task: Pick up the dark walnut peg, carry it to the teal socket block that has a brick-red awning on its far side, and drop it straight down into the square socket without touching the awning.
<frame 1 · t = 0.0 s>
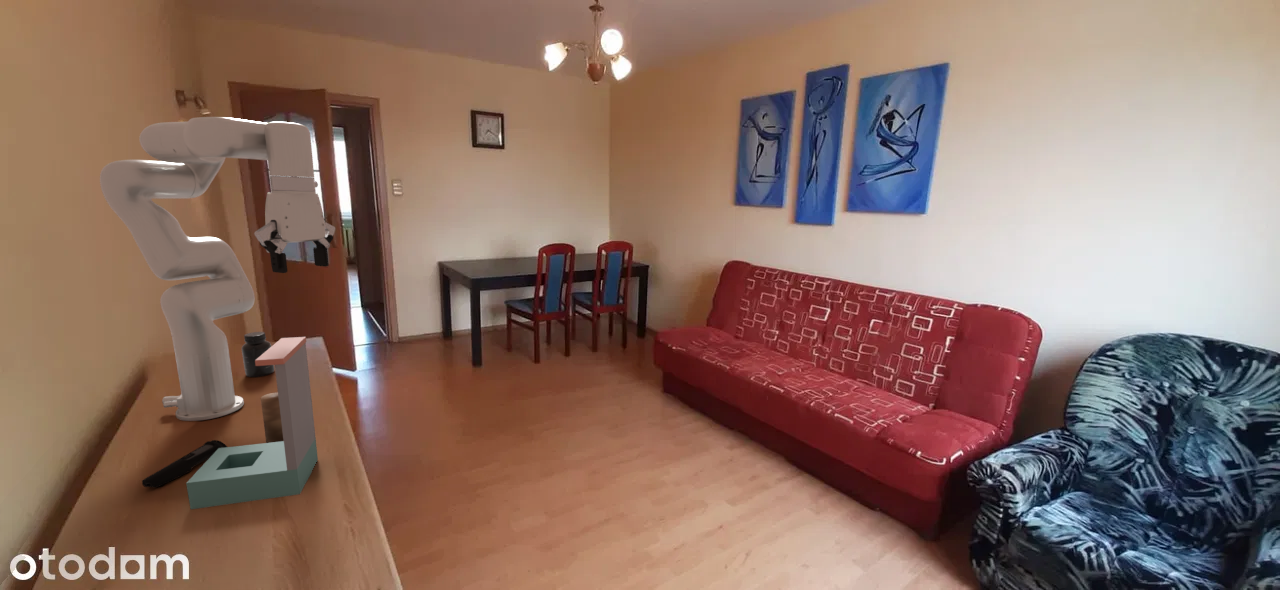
hand: (301, 269, 105), 37 cm above the table, tool pointing down, fingers open, 9 cm apart
walnut peg: (277, 439, 109), on the table
socket stand: (243, 484, 92), on the table
electric trimmer: (189, 470, 97), on the table
supplement bottle: (260, 374, 145), on the table
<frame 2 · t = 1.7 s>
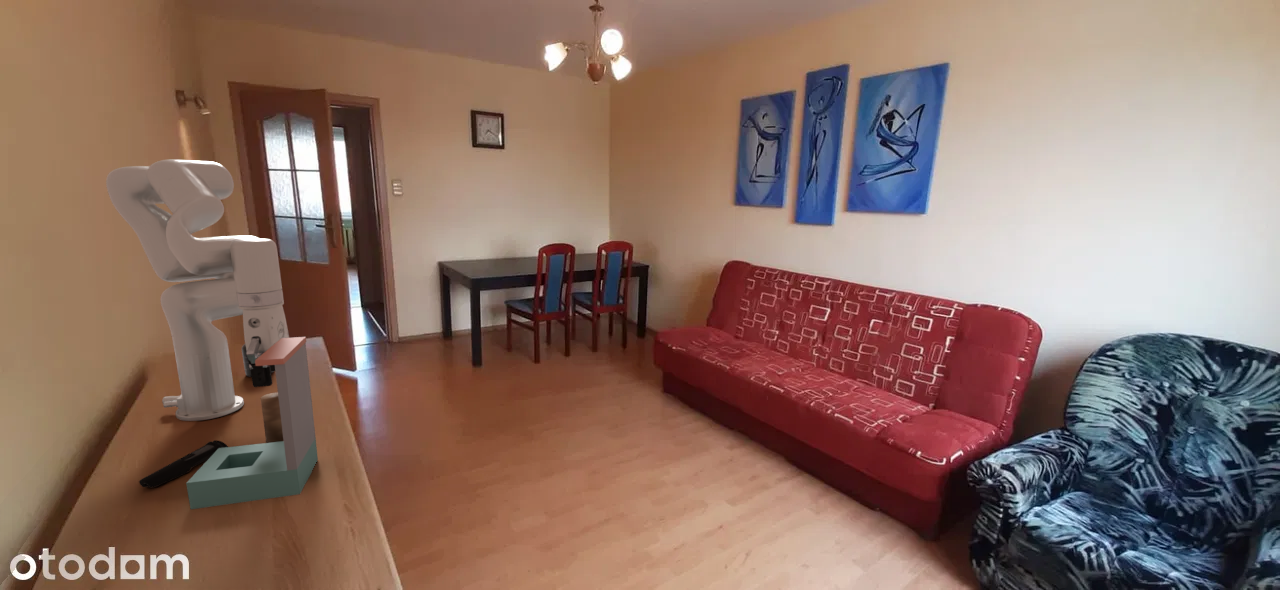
hand: (271, 377, 106), 14 cm above the table, tool pointing down, fingers open, 9 cm apart
nothing on the table moved.
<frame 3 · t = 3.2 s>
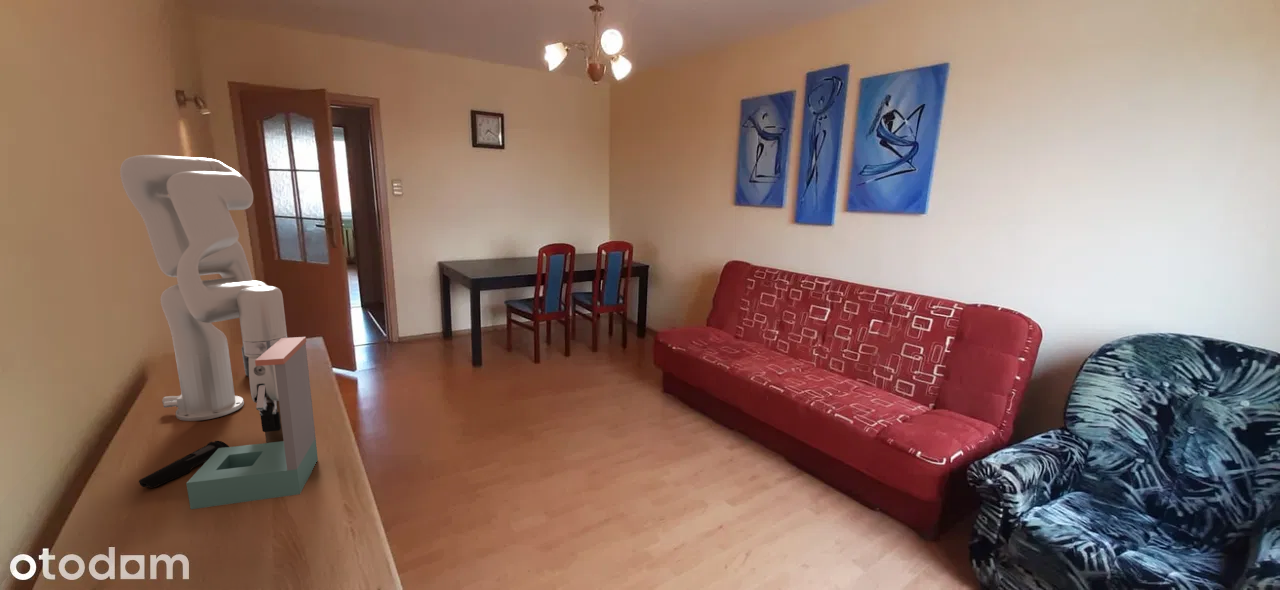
hand: (275, 424, 108), 3 cm above the table, tool pointing down, fingers closed on walnut peg, 4 cm apart
walnut peg: (277, 439, 109), on the table, touching gripper
everything else where it was.
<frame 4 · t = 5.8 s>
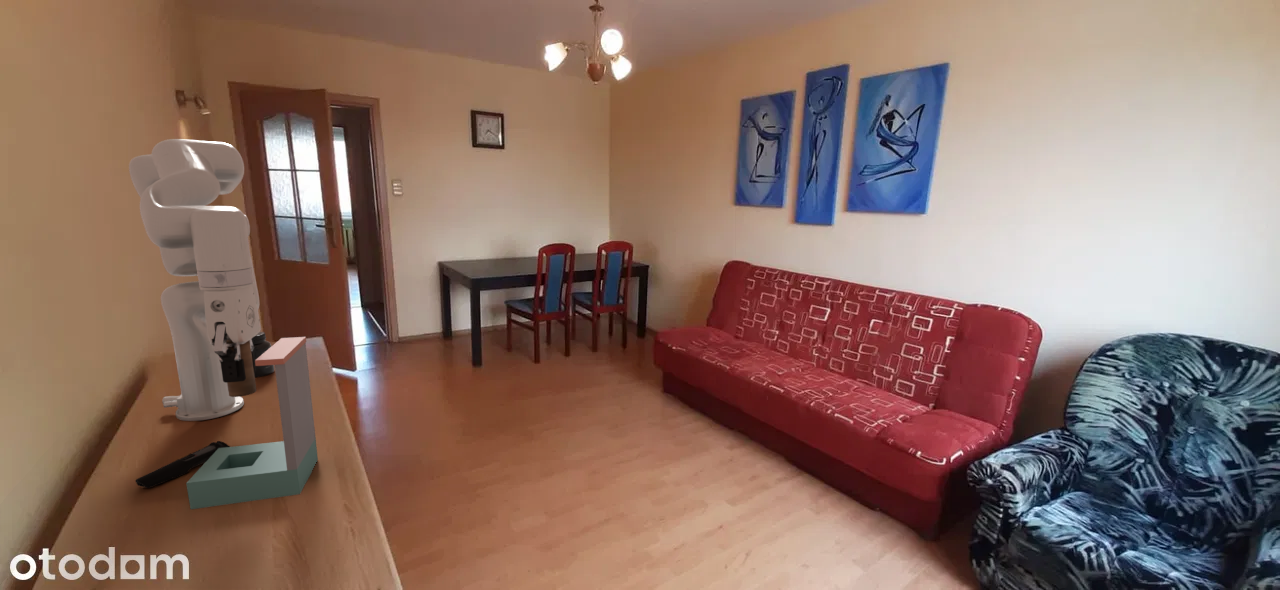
hand: (240, 375, 92), 20 cm above the table, tool pointing down, fingers closed on walnut peg, 4 cm apart
walnut peg: (242, 392, 93), point 17 cm above the table, touching gripper
everything else where it was.
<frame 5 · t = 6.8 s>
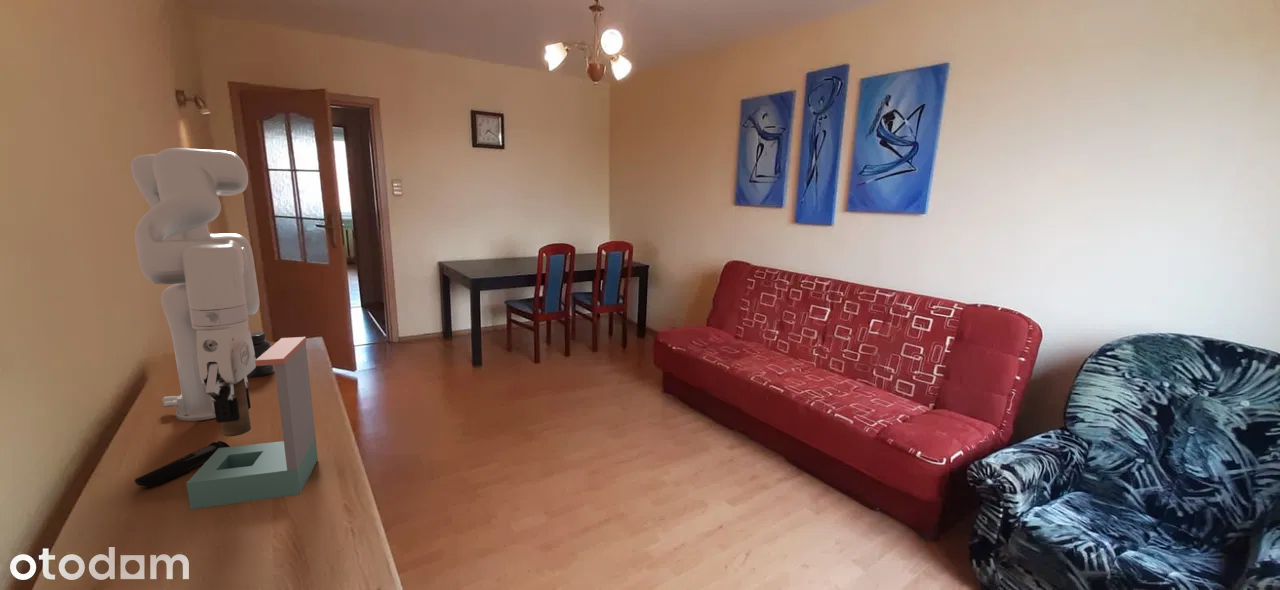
hand: (234, 414, 89), 14 cm above the table, tool pointing down, fingers closed on walnut peg, 4 cm apart
walnut peg: (237, 431, 90), point 11 cm above the table, touching gripper
everything else where it was.
when the fingers open (6 cm above the table, at t = 8.4 s): walnut peg drops 3 cm, resting in socket stand.
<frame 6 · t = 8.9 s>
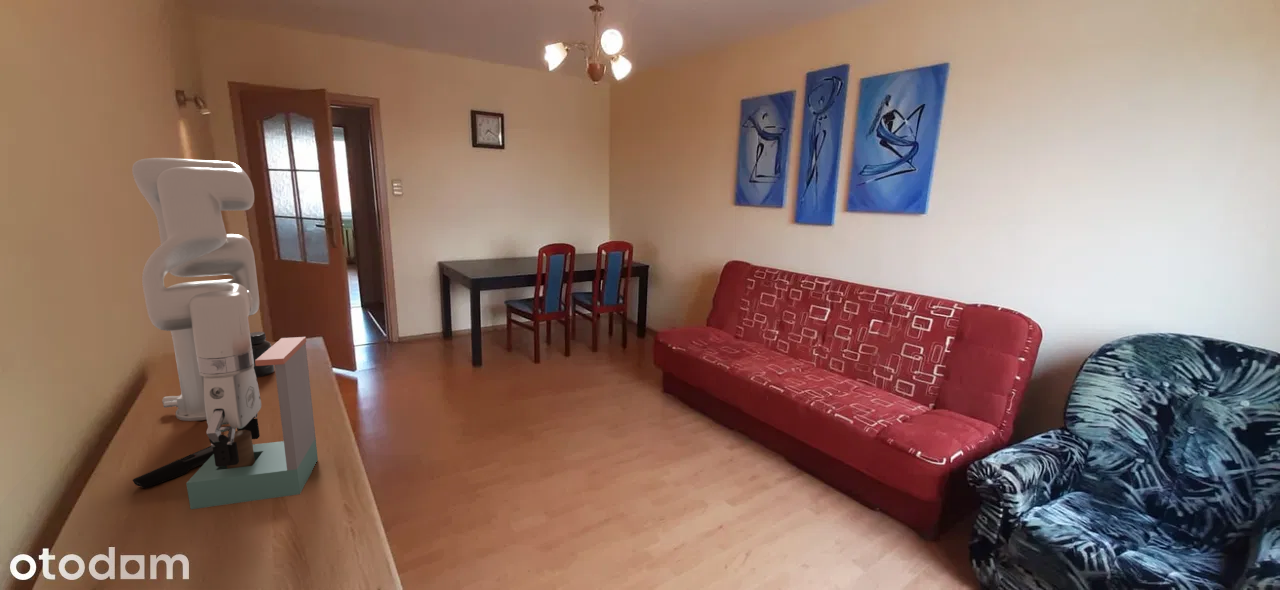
hand: (239, 451, 91), 7 cm above the table, tool pointing down, fingers open, 9 cm apart
walnut peg: (244, 484, 92), resting in socket stand
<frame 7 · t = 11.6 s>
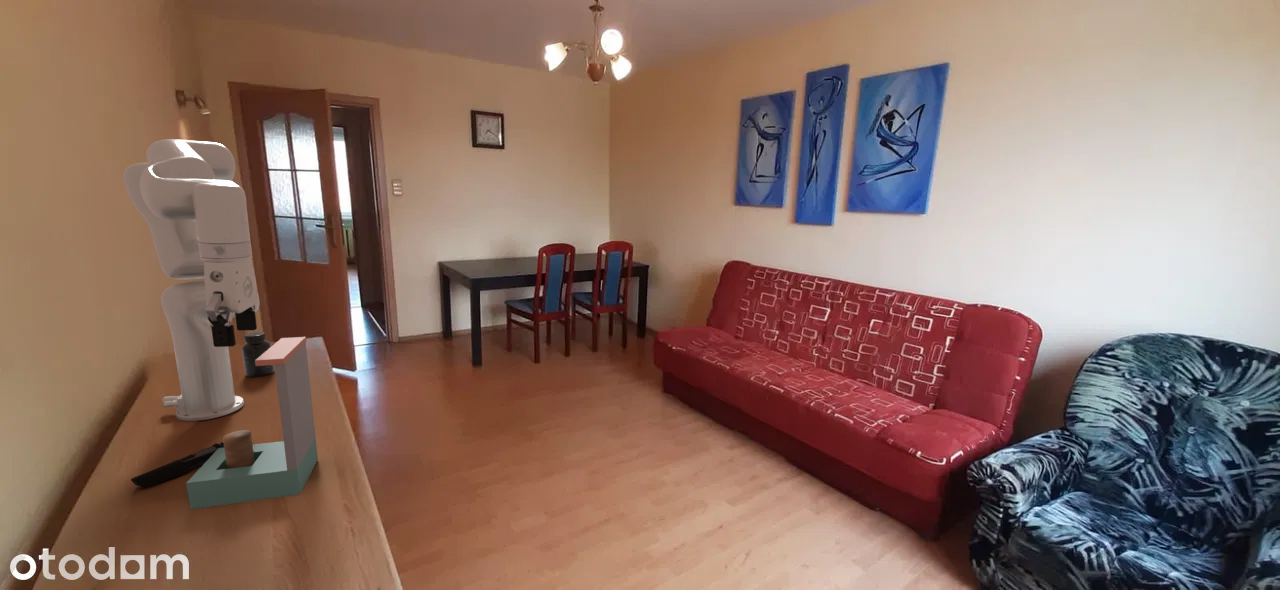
hand: (236, 337, 97), 25 cm above the table, tool pointing down, fingers open, 9 cm apart
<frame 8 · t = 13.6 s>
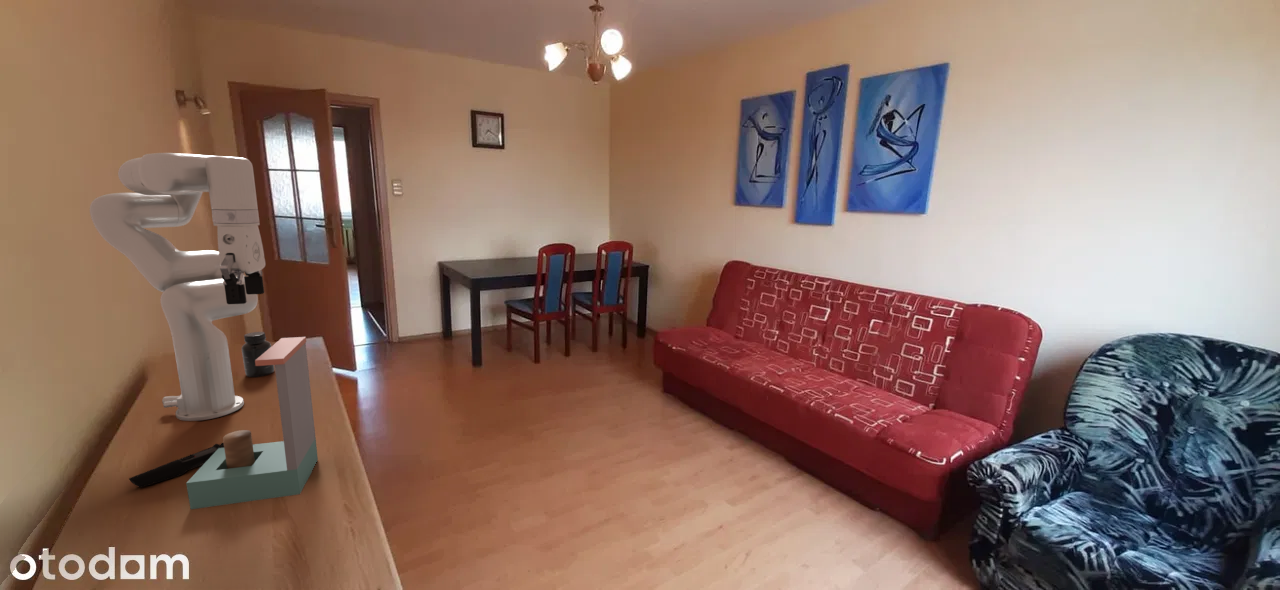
hand: (246, 298, 107), 30 cm above the table, tool pointing down, fingers open, 9 cm apart
at the end: walnut peg 0.0 cm off-centre on the socket stand, point 0.0 cm above the socket stand's base; walnut peg tilted 0°; the gripper is holding nothing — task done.
